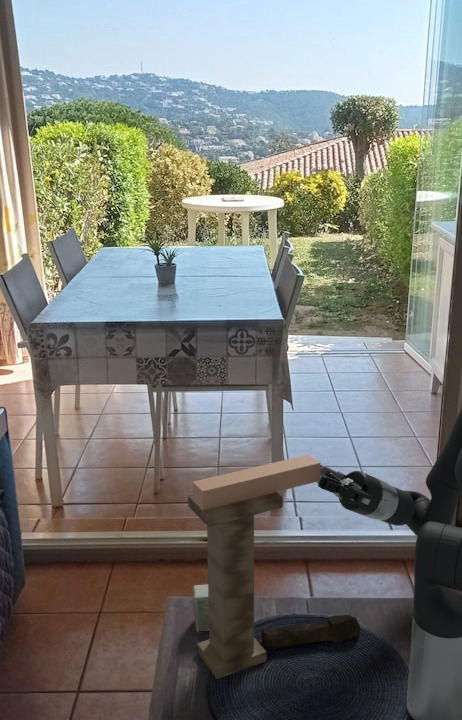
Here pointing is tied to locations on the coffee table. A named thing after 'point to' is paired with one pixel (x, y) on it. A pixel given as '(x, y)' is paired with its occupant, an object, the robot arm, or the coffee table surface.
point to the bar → (255, 482)
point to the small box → (201, 607)
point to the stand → (232, 584)
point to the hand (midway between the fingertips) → (307, 472)
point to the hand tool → (311, 632)
